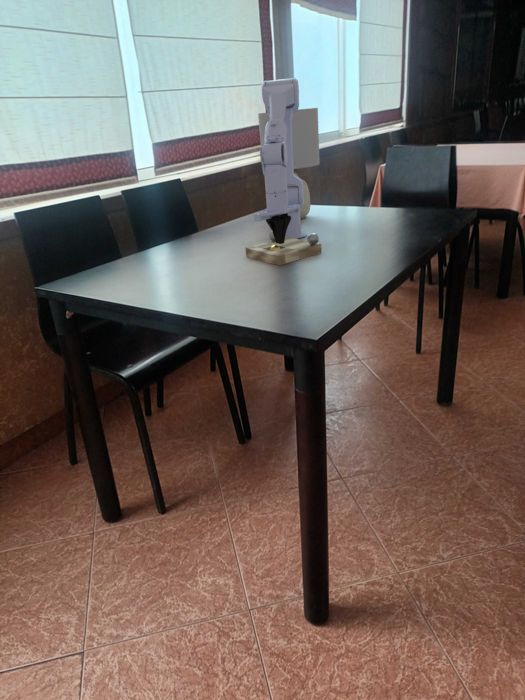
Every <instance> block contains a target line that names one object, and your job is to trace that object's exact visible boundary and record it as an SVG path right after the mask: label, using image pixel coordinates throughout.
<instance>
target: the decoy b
mask: <svg viewBox="0 0 525 700" xmlns="http://www.w3.org/2000/svg"><path fill="white" fill-rule="evenodd" d="M306 241H308V243H309V244H310V245H315V244H317V243H319V241H320V238H319V235H318V234H317V233H315V232H311V233H309V234H307V236H306Z"/></svg>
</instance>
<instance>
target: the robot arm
mask: <svg viewBox="0 0 525 700" xmlns="http://www.w3.org/2000/svg"><path fill="white" fill-rule="evenodd" d="M261 95H262V101H263V104H264V107H265V110H266V111H267V112H266V113H268V114H270V121H268V122H267V124H266V126H265V135H264V145H263V146H261V145H260V148H259V157H260V164H261V167H262V168H261V169H262V175H263V176H264V185H265V189H264V190H265V199H266V200H265V201H266V209H264V210H261V211H258V212H254V214H253V218H254V222H262V221H264V220H265V222H266V223H267V224H268V226H269V228H270V231H272V232H273V235H274V238H275V241H276V243H278V244H283V243H284V241H285V237H290V238H295V239H301V238H304V237H308V234H306V233H302V224H301V223H302V221H301V219H300V212H301V207H302V206H303V205H304V188H303V182H302V180H301V179H302V178H300V177H299V176H298V177H297V176H296V175H294V172H295V170H294V171H293V145H292V118H293V114H294V113H296V112H297V111H298V110H299V108H300V89H299V81H298V79H297V77H293V78H292V77H291V78H282V79H281V78H280V79H273V80H264V81H263V82H262V84H261ZM290 184H296V185H297V186H287V185H290Z"/></svg>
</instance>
